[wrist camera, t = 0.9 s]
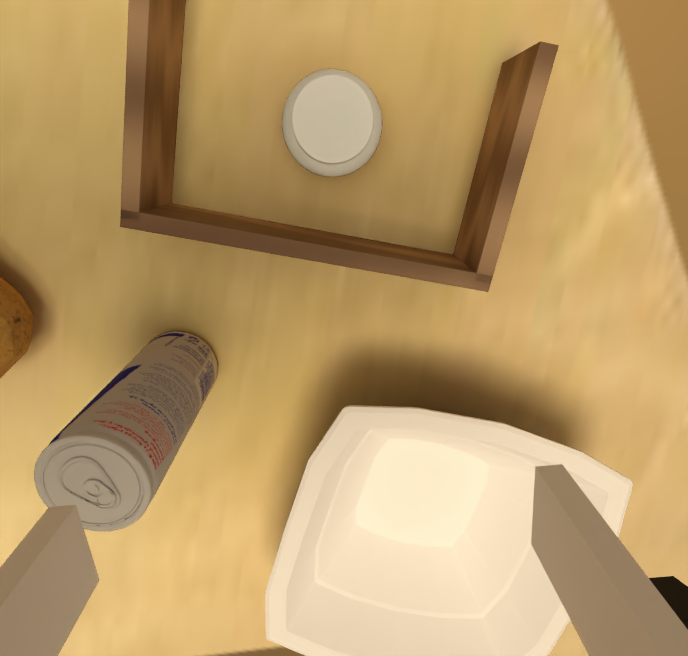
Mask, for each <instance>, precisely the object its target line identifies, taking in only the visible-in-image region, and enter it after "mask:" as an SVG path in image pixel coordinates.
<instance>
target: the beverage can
mask: <svg viewBox="0 0 688 656" xmlns="http://www.w3.org/2000/svg"><path fill="white" fill-rule="evenodd" d="M217 371H218V366H217V361H216V357H215V355H214V353H213V351H212V350H211V348H210V347H209V346H208V345H207V344H206V343H205V342H204V341H203V340H202V339H200V338H199V337H197V336H195V335H192V334H190V333H186V332H181V331H171V332H166V333H163V334H160V335H158V336H157V337H155V338H154V339H153V340H151V341H150V343H149V344H148V345H147V346H146V347H145V348H144V349H143V350H142V351H141V352H140V353H139V354H138V355H137V356H136V357H135V358H134V359H133V360H132V361H131V362H130V363H129V364H128V365H127V366H126V367H125V368H124V369H123V370H122V371H121V372H120V373H119V374H118V375H117V376H116V377H115V378H114V379H113V380H112V381H111V382H110V383H109V384H108V385H107V386H106V387H105V388H104V389H103V390H102V391H101V392H100V393H99V394H98V395H97V396H96V397H95V398H94V399H93V400H92V401H91V402H90V403H89V404H88V405H87V406H86V407H85V408H84V409H83V410H82V411H81V412H80V413H79V414H78V415H77V416H76V417H75V418H74V419H73V420H72V421H71V422H70V423H69V424H68V425H67V426H66V427H65V428H64V429H63V430H62V431H61V432H60V433H59V434H58V435H57V436H56V437H55V438H54V439H53V440H52V441H51V442H50V444H49V445H48V446H47V447H46V448H45V449H44V450H43V451H42V453H41V454H40V456H39V458H38V459H37V462H36V464H35V470H34V480H35V484H36V488H37V491H38V493H39V496H40V497H41V499H42V500H43V502H44V503H45V505H46V506H47V507H48V508H49V507H55V506H67V505H76V506H77V510H78V513H79V516H80V519H81V522H82V526H83V529H87V530H92V531H114V530H118V529H122V528H125V527H127V526H129V525H131V524H133V523H134V522H135V521H137V520H138V519H139V518H140V517H141V516H142V515H143V514H144V512H145V511H146V509H147V507H148V505H149V503H150V502H151V500H152V499H153V497H154V495H155V494H156V492H157V490H158V488H159V486H160V484H161V482H162V480H163V478H164V477H165V475H166V473H167V471H168V469H169V467H170V465H171V463H172V461H173V460H174V458H175V456H176V454H177V452H178V450H179V448H180V446H181V444H182V443H183V441H184V439H185V437H186V435H187V433H188V431H189V429H190V427H191V426H192V424H193V422H194V420H195V418H196V416H197V414H198V412H199V410H200V409H201V407H202V405H203V403H204V401H205V399H206V397H207V395H208V393H209V392H210V390H211V388H212V386H213V384H214V382H215V380H216V377H217Z"/></svg>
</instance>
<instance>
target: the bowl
mask: <svg viewBox="0 0 688 656" xmlns="http://www.w3.org/2000/svg"><path fill="white" fill-rule="evenodd" d="M559 464H562V465H563V466H564V467H565V469H566V470H567V471H568V473H569V474H570V475H571V477H572V478H573V479H574V480H575V482H576V483H577V484H578V486H579V487H580V488H581V490H582V491H583V492H584V494H585V495H586V496H587V498H588V499H589V500H590V502H591V503H592V504H593V506H594V507H595V508H596V509H597V511H598V512H599V513H600V515H601V516H602V517H603V519H604V520H605V521H606V523H607V524H608V525H609V527H610V528H611V529H612V531H613V532H614V533H615V534H616V536H617V537H619V533H620V530H621V526H622V522H623V519H624V515H625V512H626V508H627V504H628V501H629V497H630V493H631V490H632V486H633V482H632V481H631V480H630V479H628V478H627V477H625V476H624V475H622V474H620V473H618V472H617V471H615V470H613V469H611V468H610V467H608V466H606V465H604V464H603V463H601V462H599V461H597V460H595V459H594V458H592V457H590V456H588V455H587V454H585V453H583V452H581V451H580V450H577V449H574V448H571V447H569V446H566V445H563V444H560V443H558V442H555V441H552V440H549V439H547V438H544V437H541V436H538V435H536V434H533V433H530V432H527V431H524V430H522V429H519V428H516V427H513V426H511V425H508V424H505V423H502V422H496V421H491V420H485V419H480V418H474V417H469V416H463V415H457V414H452V413H446V412H441V411H435V410H429V409H424V408H418V407H394V406H362V405H348V406H345V407H344V408H343V409H342V410H341V411H340V413H339V414H338V416H337V417H336V419H335V420H334V422H333V423H332V425H331V426H330V428H329V429H328V431H327V432H326V434H325V435H324V437H323V438H322V440H321V441H320V443H319V444H318V446H317V447H316V449H315V450H314V452H313V453H312V455H311V456H310V458H309V460H308V463H307V466H306V469H305V471H304V474H303V477H302V480H301V483H300V486H299V489H298V492H297V495H296V498H295V501H294V503H293V506H292V509H291V512H290V515H289V518H288V521H287V524H286V527H285V530H284V533H283V536H282V540H281V543H280V546H279V549H278V553H277V556H276V559H275V563H274V566H273V569H272V572H271V576H270V579H269V582H268V585H267V589H266V592H265V597H266V638H267V639H268V640H270V641H272V642H274V643H277V644H279V645H281V646H284V647H286V648H289V649H291V650H293V651H296V652H298V653H301V654H303V655H305V656H547V655H548V654H549V653H550V652H551V650H552V649H553V647H554V645H555V644H556V642H557V641H558V639H559V637H560V636H561V634H562V632H563V631H564V629H565V627H566V626H567V624H568V623H569V621H570V618H569V616H568V614H567V612H566V610H565V608H564V606H563V604H562V602H561V600H560V599H559V597H558V595H557V593H556V591H555V589H554V587H553V585H552V583H551V581H550V579H549V577H548V576H547V574H546V572H545V570H544V568H543V566H542V564H541V562H540V560H539V558H538V556H537V554H536V552H535V551H534V549H533V547H532V545H531V535H532V517H533V499H534V481H535V466H547V465H559Z"/></svg>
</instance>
